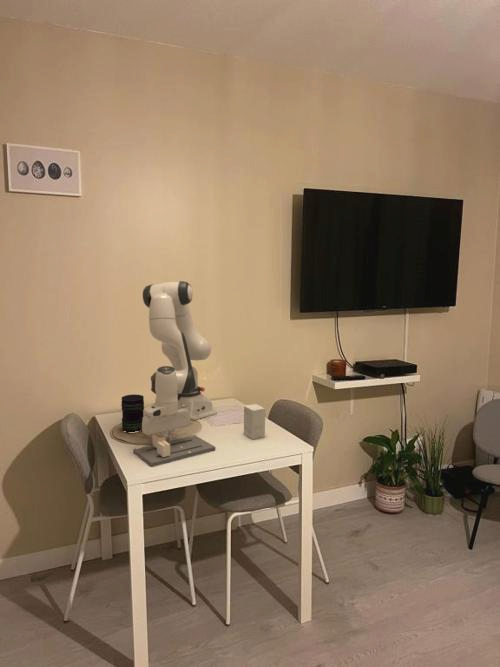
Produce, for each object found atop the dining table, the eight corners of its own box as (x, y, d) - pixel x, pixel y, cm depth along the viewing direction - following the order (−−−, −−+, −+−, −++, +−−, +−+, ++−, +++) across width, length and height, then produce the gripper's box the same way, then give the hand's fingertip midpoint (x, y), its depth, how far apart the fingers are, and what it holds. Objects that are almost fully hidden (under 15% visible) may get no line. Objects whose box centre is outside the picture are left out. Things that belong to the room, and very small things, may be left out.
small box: (265, 437, 216) (265, 408, 214) (252, 439, 213) (252, 410, 211) (255, 431, 223) (256, 403, 221) (243, 434, 220) (243, 405, 218)
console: (195, 438, 214) (195, 434, 213) (215, 450, 201) (215, 446, 201) (133, 453, 197) (133, 449, 197) (151, 466, 184) (151, 462, 184)
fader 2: (164, 451, 194) (164, 439, 194) (170, 455, 190) (170, 443, 190) (157, 453, 193) (157, 441, 192) (163, 457, 189) (163, 445, 188)
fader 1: (159, 444, 202) (159, 433, 201) (165, 447, 198) (165, 436, 197) (152, 445, 200) (152, 434, 199) (158, 449, 196) (158, 438, 195)
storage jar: (149, 429, 224) (148, 397, 222) (130, 435, 217) (129, 401, 215) (135, 424, 231) (135, 393, 228) (117, 429, 223) (116, 397, 221)
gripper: (185, 401, 207) (185, 433, 209) (139, 409, 195) (140, 443, 197) (193, 405, 202) (193, 437, 204) (146, 413, 190) (147, 448, 192)
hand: (167, 440), depth 201 cm, fingers closed
